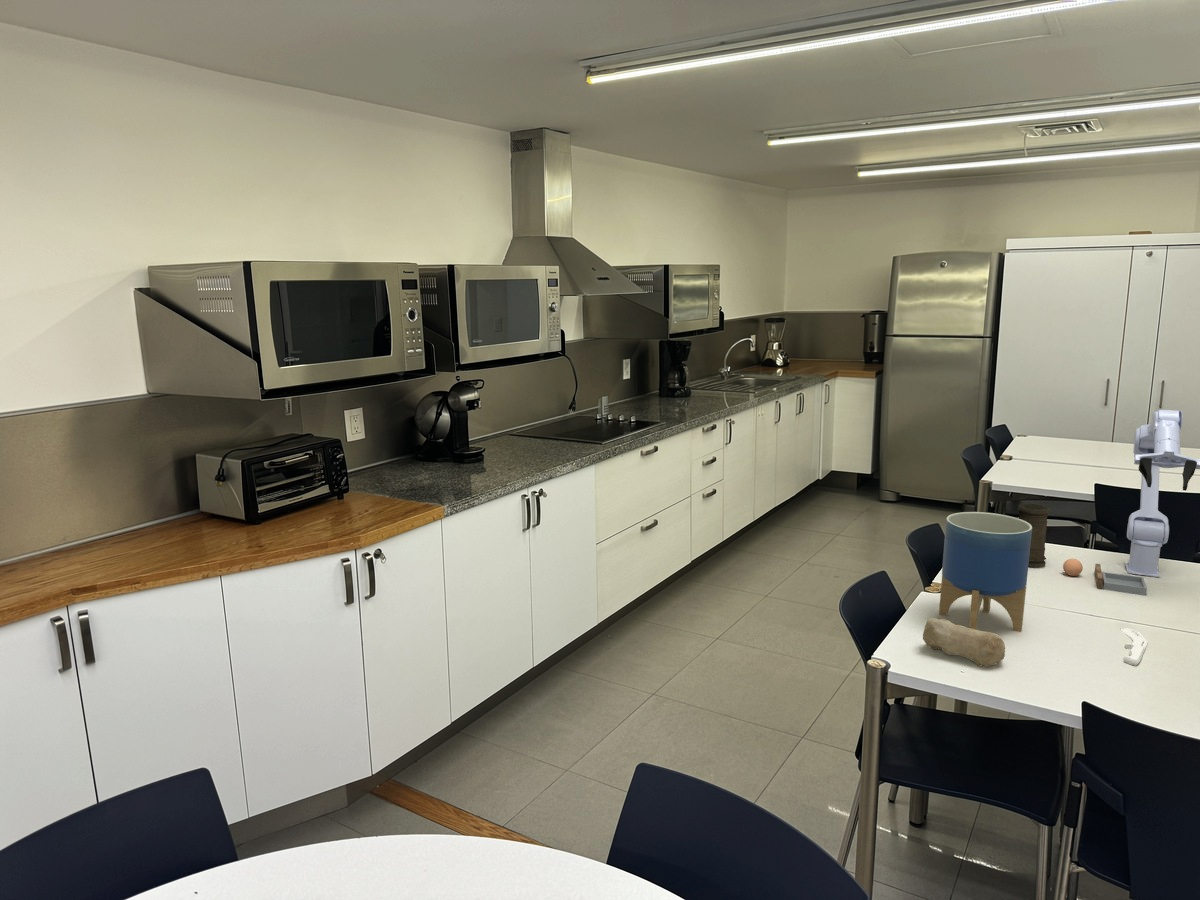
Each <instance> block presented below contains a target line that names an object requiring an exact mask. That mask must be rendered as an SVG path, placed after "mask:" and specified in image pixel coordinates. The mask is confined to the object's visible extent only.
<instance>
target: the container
mask: <svg viewBox="0 0 1200 900" xmlns="http://www.w3.org/2000/svg"><path fill="white" fill-rule="evenodd" d="M1017 507H1018V517H1017V518H1018V519H1021V520H1023V521H1026V522H1028V523H1029V524H1030V525H1031V526H1032V535H1031V545H1030V555H1029V565H1028V569H1032V568H1033V569H1040V568H1045V566H1046V563H1047V562H1046V561H1045V560H1046V559H1047V558H1046V556H1045V552H1046V535H1047V527H1048V526H1047V525H1048V516H1049V512H1050V508H1049V507H1048V506H1046V505H1042V504H1036V503H1021V504H1019V505H1018V506H1017Z"/></svg>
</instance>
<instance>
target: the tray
mask: <svg viewBox="0 0 1200 900" xmlns="http://www.w3.org/2000/svg"><path fill="white" fill-rule="evenodd" d="M1102 576H1103V584H1102V589H1103V590H1105V591H1110V592H1111V591H1112V592H1118V593H1125V594H1126V593H1127V594H1132V595H1133V594H1134V595H1140V596H1147V592H1148V590H1147V589H1148V588H1147V585H1146V581H1145V578H1144V577H1143V576H1137V575H1136V576H1135V575H1130V574H1129V575H1128V574H1120V573H1114V572H1113V573H1112V572H1105V571H1102Z"/></svg>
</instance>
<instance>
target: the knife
mask: <svg viewBox="0 0 1200 900" xmlns="http://www.w3.org/2000/svg"><path fill="white" fill-rule="evenodd" d="M1134 629H1135V628H1128V627H1125V628H1120V630H1121V632H1123V634H1125V635H1126V636H1128V637H1129V638H1130V639H1131V640H1132V643H1129V642H1126V643H1125V644H1124V649H1128V650H1129V652H1128V655H1125V656H1123V658H1122V660H1123V662H1124V663H1125V664H1128V665H1130V666H1135V667H1136V666H1137V665H1139V663H1140V662H1141V660H1142V659H1143V658H1142V657H1143V655H1144V653H1145V650H1146V647H1147V645H1148V642H1149V641H1148V640H1147V639H1146V638H1145V637H1144V636H1143V634H1141V632H1139V631H1138V630H1137V631H1138V632H1137V631H1135V630H1136V629H1135V630H1134Z"/></svg>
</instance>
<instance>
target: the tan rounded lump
mask: <svg viewBox="0 0 1200 900" xmlns="http://www.w3.org/2000/svg"><path fill="white" fill-rule="evenodd" d="M922 640H923V642H924V644H925V645H926V647H929V649H933V650H941V651H942V653H944V654H946V655H949V656H953V655H955V656H956V655H957V656H960V657H964V658H966V659H968V660H971V661H973V662H974V663H975V664H977V665H978V666H980V667H992V666H994V665H996V664H1000V663H1001V662H1002V661H1003V660H1004V658H1005V656H1006V655H1005V653H1006V645H1005V642H1004V639H1003V638H1002V637H1000V635H998V634H997V633H994V632H989V631H985V630H984V631H982V630H979V629H976V630H975V629H971V628H969V627H966V626H963V625H960V624H955V623H953V622H951V621H950V620H947V619H946V618H945V619H944V618H940V619H939V618H936V617H933V618H932V617H931V618H929V619H927V620H926V624H925V625H924V630H923V633H922Z"/></svg>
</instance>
